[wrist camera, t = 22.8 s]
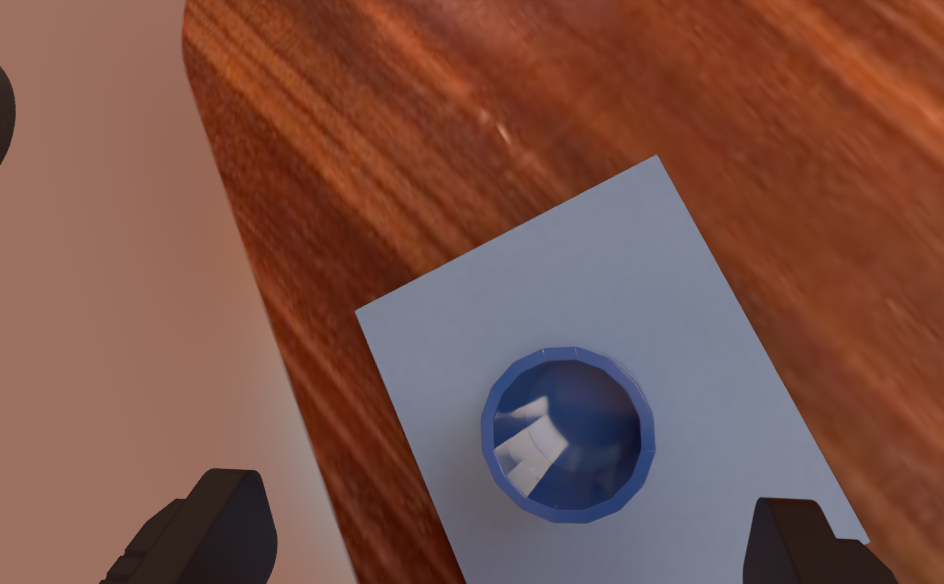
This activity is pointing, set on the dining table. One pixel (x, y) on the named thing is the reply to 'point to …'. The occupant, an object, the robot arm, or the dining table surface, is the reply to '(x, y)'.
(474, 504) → the blue mat
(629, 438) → the blue cup
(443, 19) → the dining table surface
